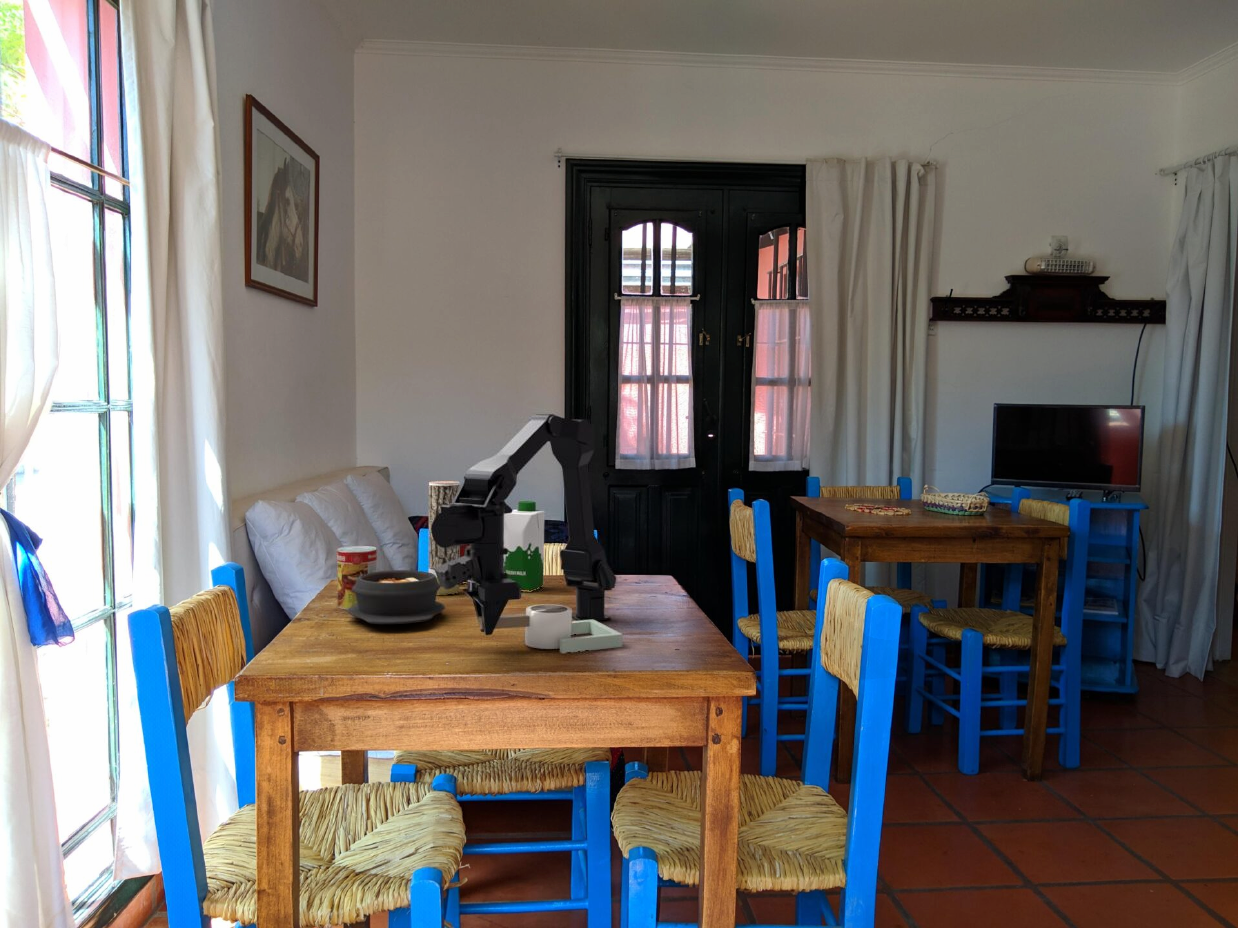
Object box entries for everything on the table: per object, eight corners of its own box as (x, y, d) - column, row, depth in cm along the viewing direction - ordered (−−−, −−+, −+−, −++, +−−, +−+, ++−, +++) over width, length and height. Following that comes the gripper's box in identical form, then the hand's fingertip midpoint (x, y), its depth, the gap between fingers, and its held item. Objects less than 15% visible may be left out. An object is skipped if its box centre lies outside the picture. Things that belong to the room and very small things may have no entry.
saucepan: (561, 637, 161) (562, 602, 161) (577, 648, 154) (578, 611, 153) (473, 644, 154) (474, 607, 154) (486, 655, 147) (487, 617, 147)
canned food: (342, 601, 190) (341, 546, 189) (379, 601, 191) (379, 545, 190) (333, 609, 182) (333, 551, 182) (373, 609, 183) (373, 551, 182)
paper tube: (422, 592, 201) (422, 482, 199) (448, 589, 205) (448, 480, 204) (439, 597, 196) (439, 483, 194) (465, 593, 200) (465, 482, 199)
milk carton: (547, 586, 210) (548, 501, 209) (533, 593, 201) (533, 505, 200) (513, 584, 212) (513, 500, 211) (497, 591, 203) (497, 503, 202)
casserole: (451, 630, 166) (451, 585, 166) (347, 636, 161) (346, 590, 160) (438, 603, 190) (438, 564, 190) (347, 607, 185) (347, 567, 184)
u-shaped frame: (536, 636, 161) (536, 624, 161) (593, 630, 166) (593, 619, 166) (562, 653, 150) (562, 640, 150) (622, 646, 155) (622, 634, 155)
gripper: (425, 537, 155) (425, 625, 156) (455, 551, 138) (454, 650, 139) (487, 534, 160) (486, 620, 161) (522, 547, 143) (522, 644, 144)
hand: (486, 633), depth 151 cm, fingers closed on saucepan, 2 cm apart
